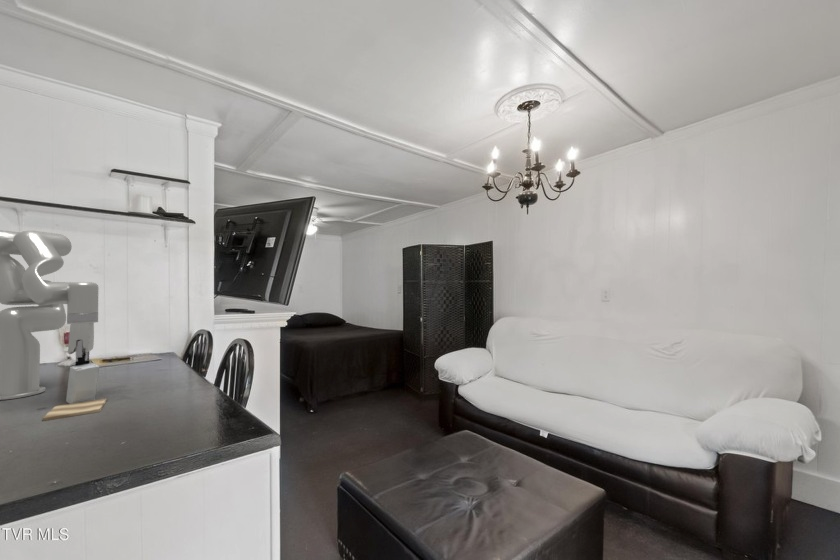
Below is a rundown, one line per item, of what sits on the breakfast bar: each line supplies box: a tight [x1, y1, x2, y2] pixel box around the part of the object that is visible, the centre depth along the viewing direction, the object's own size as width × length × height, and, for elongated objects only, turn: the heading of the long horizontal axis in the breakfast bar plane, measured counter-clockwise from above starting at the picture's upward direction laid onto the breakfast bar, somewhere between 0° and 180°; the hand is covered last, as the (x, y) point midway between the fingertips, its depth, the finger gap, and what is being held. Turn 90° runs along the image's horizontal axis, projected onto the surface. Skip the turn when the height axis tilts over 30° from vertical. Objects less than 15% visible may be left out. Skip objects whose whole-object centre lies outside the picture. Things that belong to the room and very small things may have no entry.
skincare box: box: [65, 362, 100, 404], centre depth 112 cm, size 6×4×12 cm
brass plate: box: [41, 397, 108, 422], centre depth 105 cm, size 13×12×1 cm
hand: (82, 373), depth 115 cm, fingers closed
